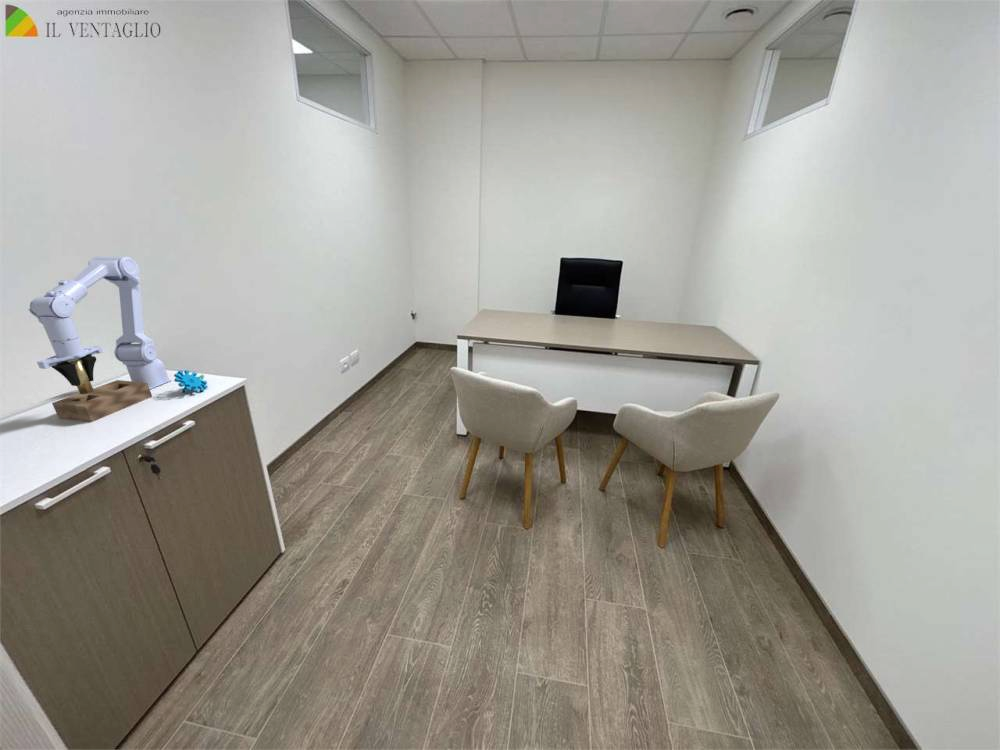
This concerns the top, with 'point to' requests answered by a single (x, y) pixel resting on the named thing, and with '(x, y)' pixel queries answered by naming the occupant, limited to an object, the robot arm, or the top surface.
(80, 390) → the peg
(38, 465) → the top surface
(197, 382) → the gear
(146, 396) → the hole block
